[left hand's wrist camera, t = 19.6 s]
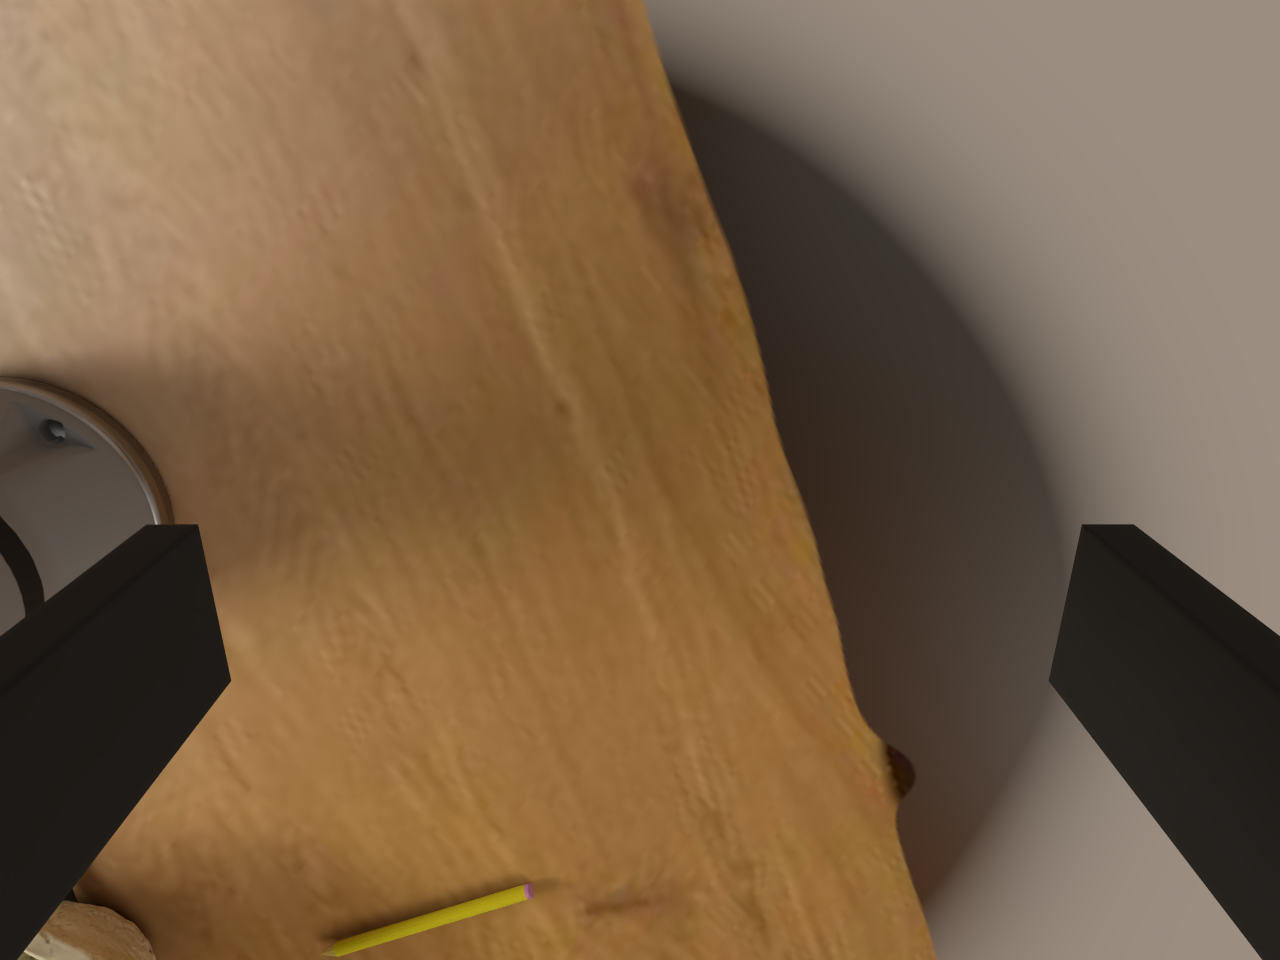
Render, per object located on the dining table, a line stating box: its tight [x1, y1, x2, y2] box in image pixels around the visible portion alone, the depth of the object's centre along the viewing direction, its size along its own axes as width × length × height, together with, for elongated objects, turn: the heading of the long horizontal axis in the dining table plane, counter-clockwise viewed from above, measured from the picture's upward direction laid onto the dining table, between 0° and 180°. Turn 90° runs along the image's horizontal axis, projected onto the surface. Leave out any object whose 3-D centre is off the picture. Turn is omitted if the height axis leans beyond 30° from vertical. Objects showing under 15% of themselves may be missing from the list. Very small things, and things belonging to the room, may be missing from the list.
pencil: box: [319, 883, 533, 957], centre depth 59 cm, size 16×1×1 cm, turn 112°
